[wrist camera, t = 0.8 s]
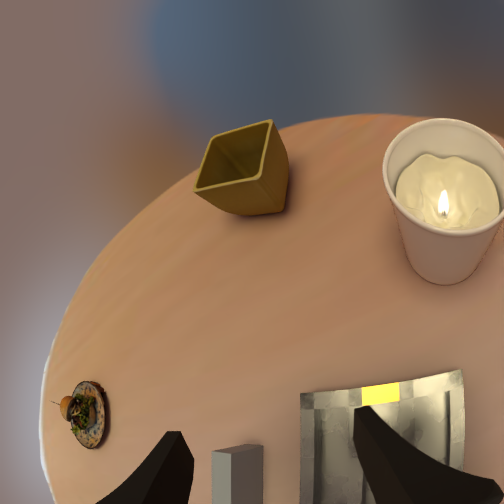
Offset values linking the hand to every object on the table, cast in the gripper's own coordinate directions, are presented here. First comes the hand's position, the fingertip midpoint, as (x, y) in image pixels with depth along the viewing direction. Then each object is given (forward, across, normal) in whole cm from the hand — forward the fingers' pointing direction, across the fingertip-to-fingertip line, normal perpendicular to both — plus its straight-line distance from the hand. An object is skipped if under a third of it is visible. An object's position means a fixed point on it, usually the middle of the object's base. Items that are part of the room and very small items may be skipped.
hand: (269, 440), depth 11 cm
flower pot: (+31, -3, -8) cm, 32 cm away
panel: (+10, +4, +18) cm, 21 cm away
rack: (+7, -9, +14) cm, 18 cm away
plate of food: (+24, +30, +20) cm, 43 cm away
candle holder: (+16, -18, -2) cm, 25 cm away
